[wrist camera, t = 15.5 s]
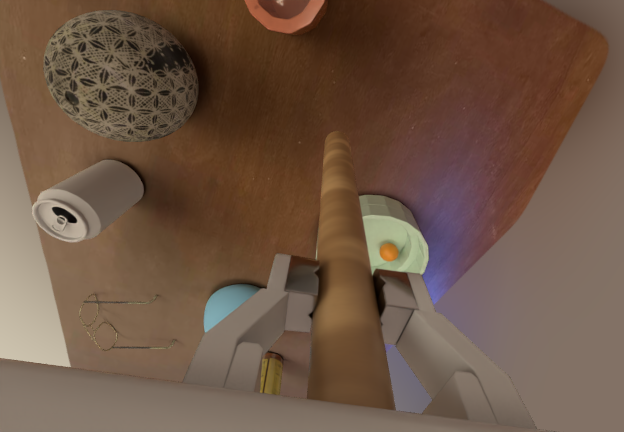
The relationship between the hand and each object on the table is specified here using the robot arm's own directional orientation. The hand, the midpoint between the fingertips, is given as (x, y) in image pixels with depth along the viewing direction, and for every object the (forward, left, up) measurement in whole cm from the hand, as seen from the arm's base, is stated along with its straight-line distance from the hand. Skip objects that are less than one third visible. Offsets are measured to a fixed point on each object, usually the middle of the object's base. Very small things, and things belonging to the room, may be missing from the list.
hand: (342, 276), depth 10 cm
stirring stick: (0, 0, -15) cm, 15 cm away
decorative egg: (+19, +10, -30) cm, 37 cm away
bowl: (-17, +12, -30) cm, 37 cm away
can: (+19, +29, -30) cm, 46 cm away
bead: (-21, +11, -28) cm, 37 cm away
